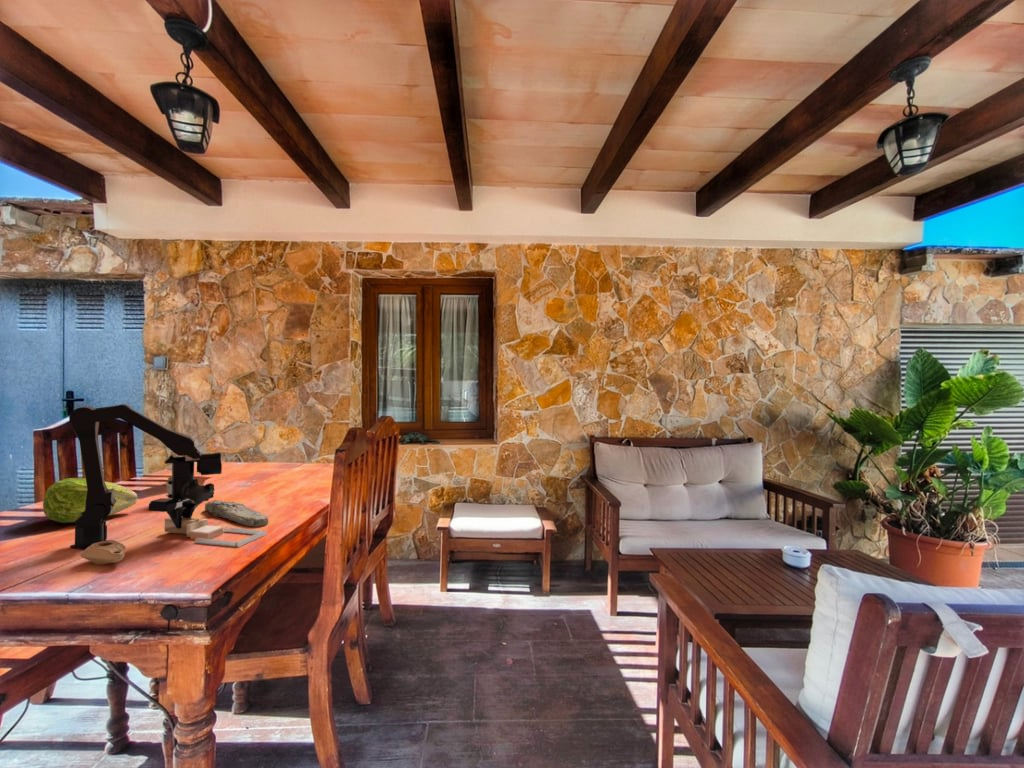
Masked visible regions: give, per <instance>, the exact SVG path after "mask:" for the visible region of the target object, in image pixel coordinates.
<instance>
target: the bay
mask: <svg viewBox="0 0 1024 768" xmlns="http://www.w3.org/2000/svg"><path fill="white" fill-rule="evenodd" d="M223 533H233V534H241V535H242V534H245V535H250V536H248V537H245V538H243V539H241V540H238V541H236V540H235V541H233V540H224V539H215V538H213V539H205V538H196V539H194V543H195V544H201V545H213V546H222V547H232V548H240V547H242V546H244V545H246V544H249V543H251V542H253V541H255V540H258V539H260V538H262V537H264V536H267V530H265V529H264V530H263V529H251V528H249V529H248V528H239V527H231V526H230V527H229V526H228V527H227V526H225V527H223Z"/></svg>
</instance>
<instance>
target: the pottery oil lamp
mask: <svg viewBox="0 0 1024 768" xmlns="http://www.w3.org/2000/svg"><path fill="white" fill-rule="evenodd" d="M107 540H108V541H101V542H98V543H93V544H92V545H91V546H89V547H88V548H86V549H84V550H83V551H82V552H81V553H80V557H81V558H82V559H85V560H87V561H89V562H91V563H93V564H94V565H98V566H99V565H102V566H104V564H105V565H109V564H116V563H118V562H120V561H122V560H123V559H124V558H125V551H126V549H127V547H126V545H124V544H123V543H121V542H119V541H118V540H113V539H107ZM108 563H109V564H108Z"/></svg>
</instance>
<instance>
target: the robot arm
mask: <svg viewBox="0 0 1024 768" xmlns="http://www.w3.org/2000/svg"><path fill="white" fill-rule="evenodd" d="M68 419H69V423H70V426H71V428H72V430H73V432H74V434H75V435H76V437H77V438H78V439H77V440H78V441H79V446H80V451H81V452H80V453H81V459H82V465H83V471H84V476H85V478H86V483H87V495H86V504H85V511H84V512H82V513H81V514H80V515H79V517H78V518H77V519H76V521H75V523H74V524H75V526H74V544H71V545H69V547H70V548H72V549H82V550H83V549H84V550H85V549H86V548H88V547H89V546H91V545H92V544H93V543H98V542H101V541H108V540H109V539H108V525H107V521H106V520H104V519H105V518H107V517H109V516H108V515H109V514H110V512H111V510H112V509H113V506H114V505H115V503H116V501H117V500H116V499H115V497H114V488H113V489H110V490H108V488H107V486H106V484H105V481H106V480H105V475H104V468H103V464H102V455H101V451H100V445H99V444H100V443H99V439H98V434H99V429H100V428H99V427H100V423H101V422H105V421H111V420H112V421H113V420H117V419H119V420H123V421H124V422H126V423H128V424H129V425H131V426H133V427H135V428H137V429H138V430H141V431H142V432H144V433H145V434H148V435H149V436H151V437H153V438H155V439H156V440H158V441H159V442H160V443H162V444H163V445H164V446H166V447H167V448H168V449H169V450H170V451H171V452H172V453H174V454H175V455H177V456H175V455H173V454H170V455H169V457H167V459H165V460H164V463H165V464H166V465H167V464H168V465H169V464H171V465H172V470H171V477H172V480H168V481H167V482H168V484H172V494H168V493H167V495H168V497H167V498H172V499H166V497H165V498H164V497H163V498H162V497H161V498H157V499H154V500H151V501H150V502H149V503H148V511H150V512H151V511H152V512H162V513H165V512H166V513H167V515H168V516H169V517H170V518H171V519H172V521H173V523H174V524H175V526H176V528H177V529H180V528H181V524H182V518H192V517H193V515H194V512H195V510H196V508H197V507H198V506H199V505H200V504H202V503H204V502H209V500H210V499H212V498H213V499H214V495H215V485H214V484H213V483H211V482H210V483H205V485H204V484H202V485H201V484H199V480H198V478H195V463H196V473H198V474H200V476H209V475H221V474H222V470H223V468H222V467H223V463H222V456H221V455H222V452H217V451H216V452H213V453H210V452H209V453H201V452H200V450H199V449H198V448H197V447H196V446H195V440H194V438H192V436H189V435H187V434H184V433H181V432H180V431H175V430H173V429H170V428H167V427H166V426H163V425H162V424H160V423H158V422H156V421H155V420H153V419H152V418H149V417H148V416H146V415H145V414H142V413H141V412H138V411H137V410H135V409H133V408H132V407H130V405H128V404H126V403H121V404H118V405H113V406H111V405H110V406H102V407H94V406H90V405H89V406H88V405H84V406H83V405H82V406H80V407H78V408H76V409H74V410H72V411H71V412H70V414H69V417H68ZM179 456H180V457H179ZM186 457H189V458H186Z"/></svg>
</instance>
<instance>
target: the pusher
mask: <svg viewBox="0 0 1024 768" xmlns="http://www.w3.org/2000/svg"><path fill="white" fill-rule="evenodd" d="M208 521H209V519H208V518H203V519H200V518H192V517H191V518H182V524H181V528H180V529H177V528H176V526H175V524H174V523H173V521H172V519H171V518H170V516H169V517H167V518H164V532H165V533H173V534H174V533H175V534H185V535H186V537H187V538H188V537H189V538H190V532H191V531H192V530H195V529H198V528H200V527H203V526H206V525H207V526H209V522H208Z"/></svg>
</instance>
